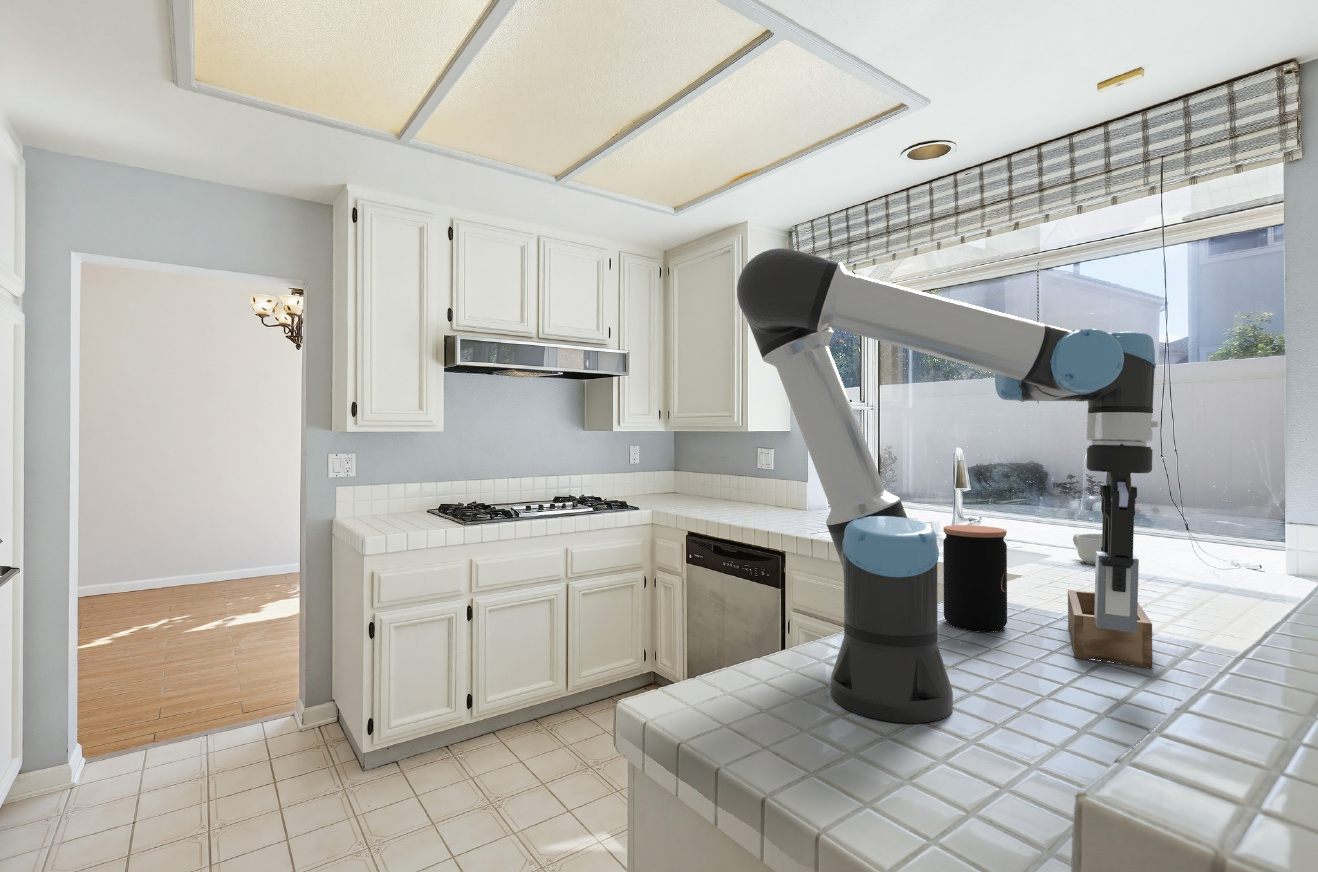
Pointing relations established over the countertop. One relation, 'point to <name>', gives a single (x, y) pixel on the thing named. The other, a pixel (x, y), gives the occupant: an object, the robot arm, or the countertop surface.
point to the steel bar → (1100, 587)
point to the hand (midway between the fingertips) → (1115, 610)
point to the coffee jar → (975, 577)
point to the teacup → (1088, 546)
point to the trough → (1106, 634)
